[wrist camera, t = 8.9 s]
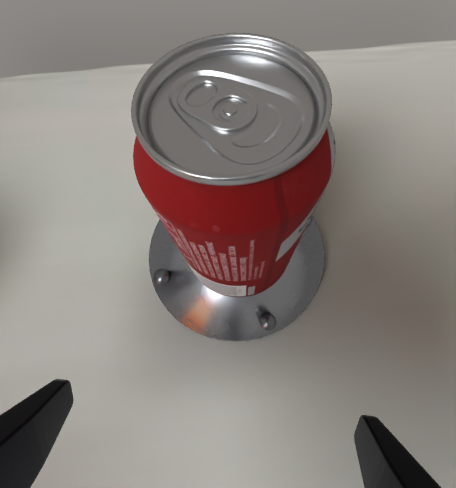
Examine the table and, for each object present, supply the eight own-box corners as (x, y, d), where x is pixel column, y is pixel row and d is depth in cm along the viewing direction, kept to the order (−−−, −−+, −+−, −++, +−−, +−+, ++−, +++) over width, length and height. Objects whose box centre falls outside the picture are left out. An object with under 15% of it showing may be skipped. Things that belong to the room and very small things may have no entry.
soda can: (248, 322, 17) (256, 259, 6) (169, 259, 19) (57, 118, 7) (307, 241, 18) (403, 72, 7) (230, 191, 20) (213, -4, 9)
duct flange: (353, 298, 18) (361, 294, 17) (183, 372, 17) (178, 373, 16) (275, 163, 22) (276, 152, 21) (135, 215, 21) (129, 207, 20)
